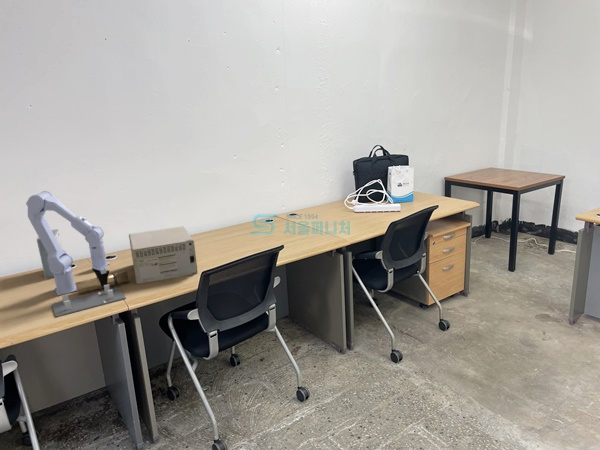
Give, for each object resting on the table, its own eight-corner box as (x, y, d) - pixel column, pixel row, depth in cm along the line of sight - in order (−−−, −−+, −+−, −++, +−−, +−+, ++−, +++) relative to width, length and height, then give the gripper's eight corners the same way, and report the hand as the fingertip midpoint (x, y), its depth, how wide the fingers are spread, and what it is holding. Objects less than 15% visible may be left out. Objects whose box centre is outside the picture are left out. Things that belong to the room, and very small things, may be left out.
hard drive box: (49, 268, 227) (41, 230, 221) (66, 266, 229) (59, 228, 224) (44, 279, 212) (36, 239, 207) (62, 276, 215) (54, 236, 210)
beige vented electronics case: (187, 255, 236) (184, 225, 232) (197, 273, 210) (193, 240, 206) (133, 265, 226) (128, 233, 222) (136, 284, 200) (131, 249, 196)
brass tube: (76, 291, 194) (74, 281, 193) (126, 279, 206) (125, 269, 204) (78, 295, 190) (76, 284, 189) (129, 283, 201) (127, 272, 200)
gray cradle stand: (51, 305, 183) (50, 295, 182) (118, 288, 197) (116, 279, 196) (56, 317, 172) (53, 307, 171) (126, 298, 185) (124, 289, 184)
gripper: (111, 257, 190) (116, 287, 194) (104, 249, 202) (109, 277, 206) (93, 261, 187) (99, 291, 190) (87, 252, 198) (92, 281, 202)
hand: (103, 284), depth 198 cm, fingers closed on brass tube, 5 cm apart
